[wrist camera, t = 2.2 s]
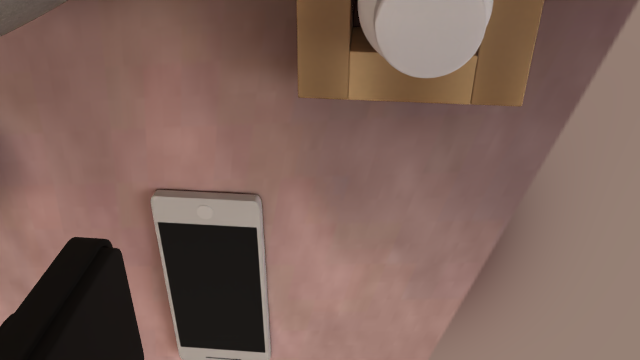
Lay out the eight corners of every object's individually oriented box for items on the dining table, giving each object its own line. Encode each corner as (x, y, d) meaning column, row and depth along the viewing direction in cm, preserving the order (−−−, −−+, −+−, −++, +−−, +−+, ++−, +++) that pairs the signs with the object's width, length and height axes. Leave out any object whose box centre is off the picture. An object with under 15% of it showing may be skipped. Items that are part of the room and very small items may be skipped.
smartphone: (261, 194, 36) (258, 202, 35) (271, 358, 44) (269, 367, 44) (153, 188, 37) (148, 196, 36) (183, 351, 45) (179, 360, 44)
